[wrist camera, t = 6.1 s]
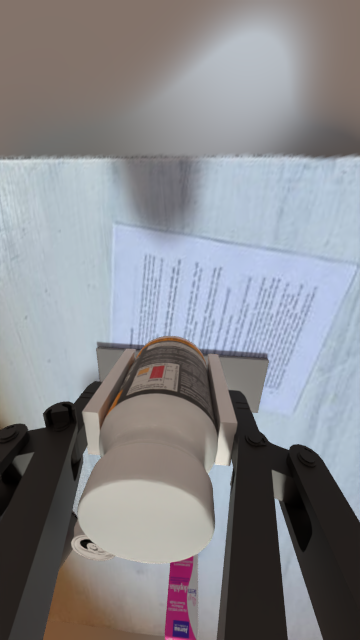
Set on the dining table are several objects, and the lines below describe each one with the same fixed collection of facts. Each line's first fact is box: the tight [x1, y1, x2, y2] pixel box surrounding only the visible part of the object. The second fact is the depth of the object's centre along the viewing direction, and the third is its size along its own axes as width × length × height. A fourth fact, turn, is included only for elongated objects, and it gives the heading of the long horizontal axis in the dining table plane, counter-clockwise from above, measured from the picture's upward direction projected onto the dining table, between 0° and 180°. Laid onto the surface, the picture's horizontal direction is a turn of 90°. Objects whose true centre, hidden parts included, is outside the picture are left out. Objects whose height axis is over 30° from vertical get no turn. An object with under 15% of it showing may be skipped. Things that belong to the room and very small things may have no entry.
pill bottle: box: [77, 336, 218, 564], centre depth 11 cm, size 6×6×10 cm
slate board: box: [96, 347, 269, 413], centre depth 28 cm, size 24×9×1 cm, turn 88°
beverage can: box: [71, 520, 115, 561], centre depth 29 cm, size 6×6×12 cm
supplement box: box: [165, 554, 199, 640], centre depth 38 cm, size 6×6×12 cm
